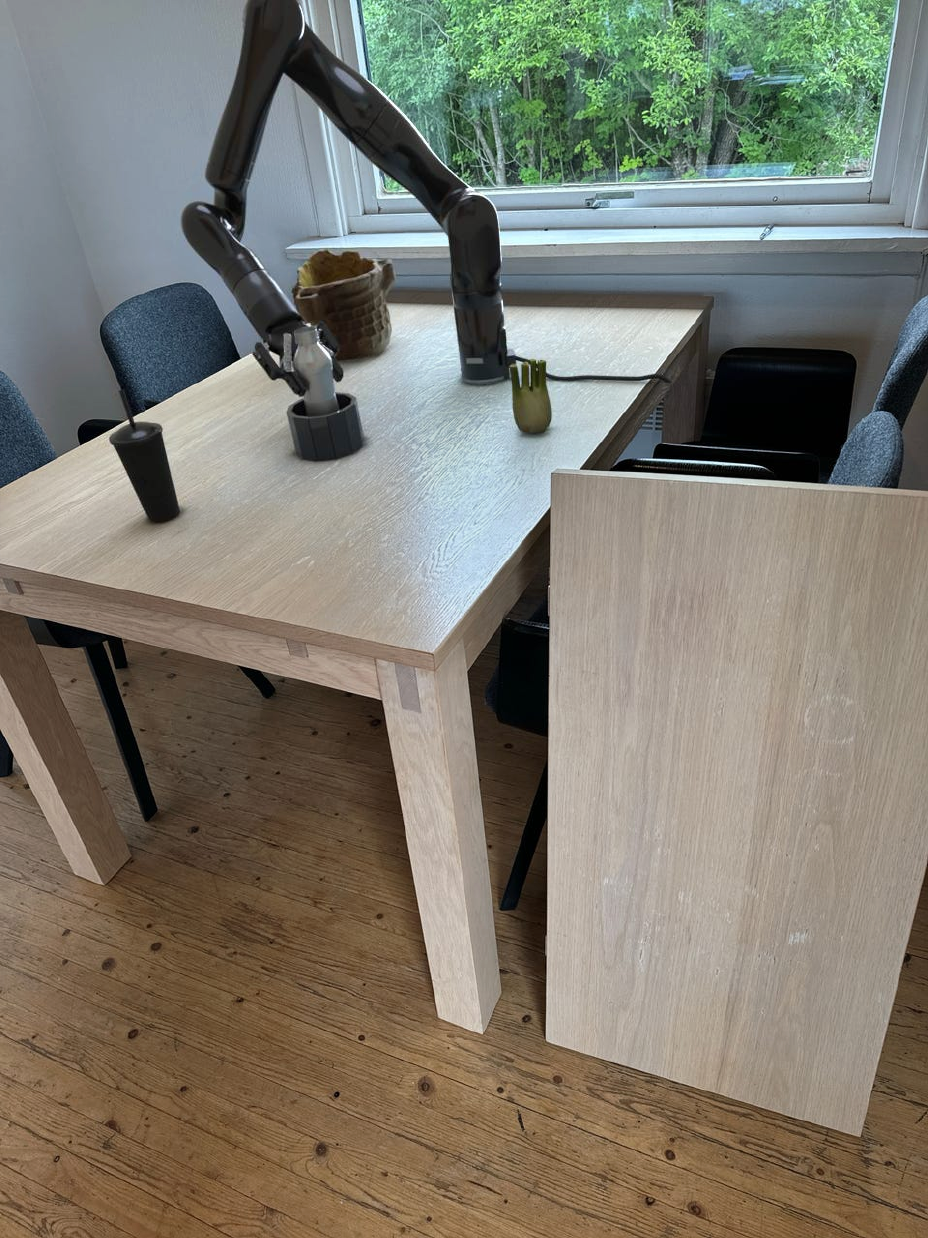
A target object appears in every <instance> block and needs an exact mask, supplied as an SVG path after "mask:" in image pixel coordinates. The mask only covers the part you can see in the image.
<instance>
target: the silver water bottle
mask: <svg viewBox="0 0 928 1238" xmlns="http://www.w3.org/2000/svg"><path fill="white" fill-rule="evenodd" d="M294 335H295V343H296V344H298V347H297V349H296V351H295V353H294V356H293V359H292V361H291V365H292V372H293V371H295V373H296V374H297V376H298V377H299V378H300V380H301V381H302V383H303V384H304V386H305V387H306V393H305V395H304V396H302V399H303V400H304V403H305V408H306V415H307V417H313V416H322V415H328V414H331V413H334V412H337V411H340V409H339V406H338V402H337V399H336V393H335V392H336V388H335V380H334V378H333V366H332V359H331V357H330V355H329V353H328V352H327V351H326V350H325V349H324V348H323V347H322V346H321V345H320V344H319V343H318V340H319V336H318V332H317V328H316V327H311V326H309V327H302V328H299V329H296V330H295V331H294Z"/></svg>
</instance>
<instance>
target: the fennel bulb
mask: <svg viewBox="0 0 928 1238" xmlns="http://www.w3.org/2000/svg"><path fill="white" fill-rule="evenodd" d="M529 360H530V365H529V364H528V362H524V363H523V362H521V364H520V372H521V373H519V368H518V365H517V363H516V364H512V365H510V368H509V373H510V379H511V395H512V396H511V399H512V412H513V413H512V414H513V418H514V421H515V424H516V426H517V428H518V430H519V431H520V432H521V433H526V434H529V435H540V434H543V433H546V431H547V430H548V428H550V425H551V423H552V419H553V414H552V413H553V411H552V410H553V409H552V403H551V398H550V394H549V390H548V385H547V377H546V372H547V361H546V360H544V359H538V360H537V359H536V358H530V359H529ZM536 363H537V364H538V368H536V366H537V365H536ZM520 374H521V376H520ZM520 379H521V380H520Z"/></svg>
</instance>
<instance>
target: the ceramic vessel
mask: <svg viewBox="0 0 928 1238" xmlns="http://www.w3.org/2000/svg"><path fill="white" fill-rule="evenodd" d="M392 260H393V259H390V258H387V259H376V258H371V259H369V258H367V257H366V256H365V257H362V256H361V255H360V252H359V251H355V250H354V251H353V250H346V251H343V252H341V254H336V253H335V252H332V251H330V250H329V249H328V248H321V249H318V250H316V251H314V252H312V253H311V254H310V256H309V257H308V258H307V260H306V261H305V262H303V264H302V265H301V266H300V267H298V268H296V273H297V277H296V283H295V284H293V285H291V294H292V298H293V301H294V302H293V303H294V304H293V305H294V307H295V308H296V309H297V311H298V312H299V314H300V316H301V319H302V321H303V322H304V323H306V324H309V325H310V327H311V326H315V325H317V324H318V322H319V321H323V322H324V323H325V325H326V326H327V328H328V329H329V331H330V332H331V334H332V335H333V337H334V338H335V340H336V341H337V343H338V344H339V346H340V349H339V351H338V353H337V356H336V357H335V359H336V360H337V362H342V361H352V360H357V359H362V358H363V359H364V358H367V357H373V356H378V355H379V354H381V353H383V352H384V350H385V349H386V347H387V346H388V345H389V344H390V341H391V336H392V333H393V327H392V322H391V314H390V310H389V306H388V304H387V301H386V297H387V295H388V293H389V292H390V290H391V289H393V287H394V286H395V284H396V281H397V276H396V271H395V267H394V261H392Z"/></svg>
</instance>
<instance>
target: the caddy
mask: <svg viewBox="0 0 928 1238" xmlns="http://www.w3.org/2000/svg"><path fill="white" fill-rule="evenodd" d="M335 393H336V399H337V402H338V406H339V409H340V411H337V412H334V413H331V414H328V415H322V416H313V417H307V415H306V408H305V403H304V400H303V398H300V399H297V400H296V401H295V402H293V403H291V404H290V405H289V406H288V407H287V410H286V412H285V413H286V418H287V421H288V425H289V429H290V433H291V437H292V441H293V446H294V449H295V454H296V455H297V456H299V458H301V459H302V460H307V461H312V462H313V461H314V462H322V461H329V460H337V459H340V458H342V457H346V456H348V455H351V454H354V453H355V452H356V451H358V450H360V449H361V448H362V447H363V446H364V442H365V436H364V430H363V425H362V421H361V414H360V410H359V405H358V400H357V397H356V396H354V395H353V394H351V393H350V392H339V391H335Z"/></svg>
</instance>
